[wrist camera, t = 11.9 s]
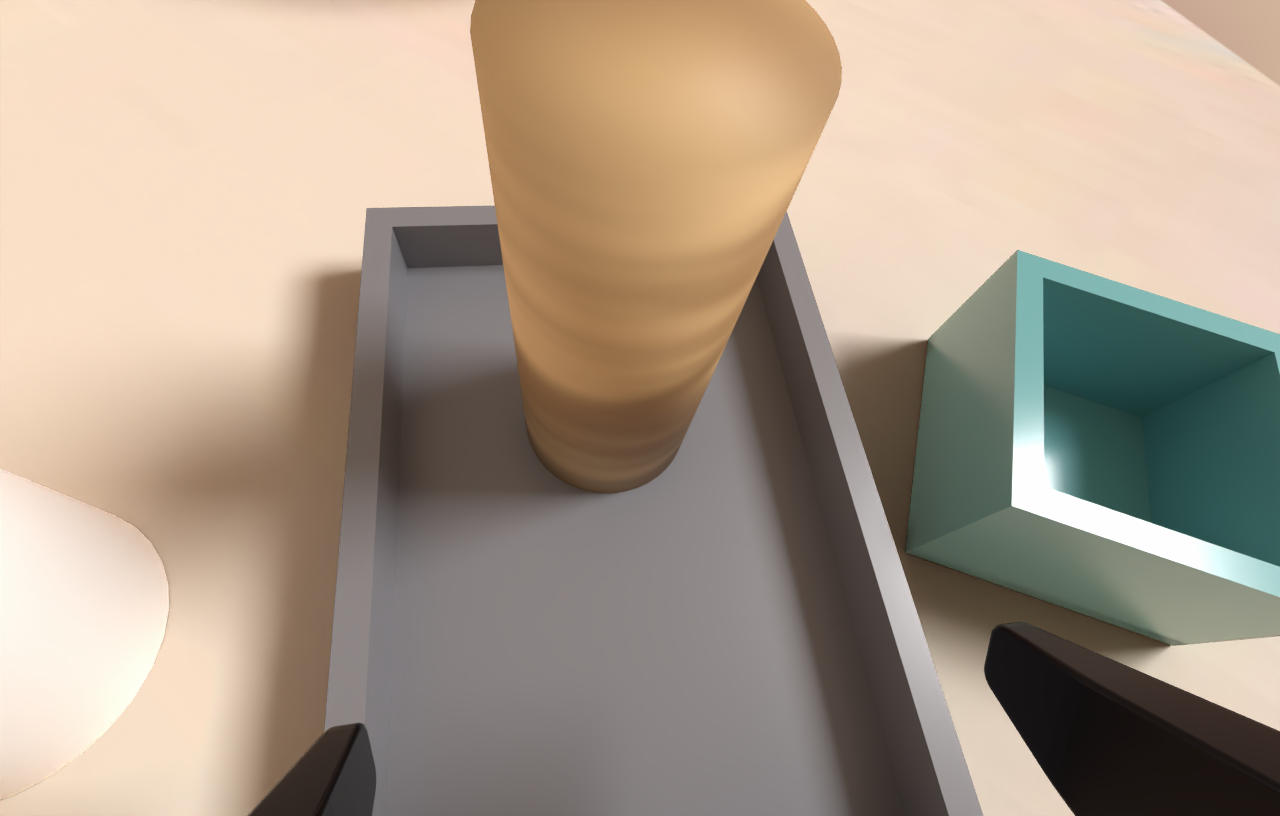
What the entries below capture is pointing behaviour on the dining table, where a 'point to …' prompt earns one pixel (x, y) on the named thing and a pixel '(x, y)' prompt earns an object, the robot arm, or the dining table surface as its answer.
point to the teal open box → (1104, 454)
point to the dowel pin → (639, 202)
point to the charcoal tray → (619, 575)
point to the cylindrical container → (69, 626)
